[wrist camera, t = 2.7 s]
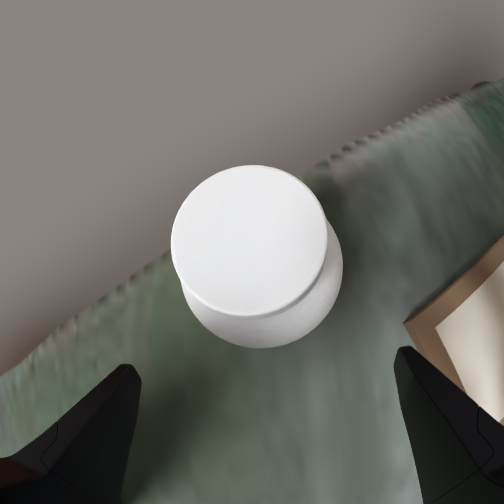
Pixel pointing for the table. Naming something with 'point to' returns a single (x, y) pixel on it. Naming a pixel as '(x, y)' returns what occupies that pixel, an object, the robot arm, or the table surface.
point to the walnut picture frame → (469, 331)
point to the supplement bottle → (256, 256)
